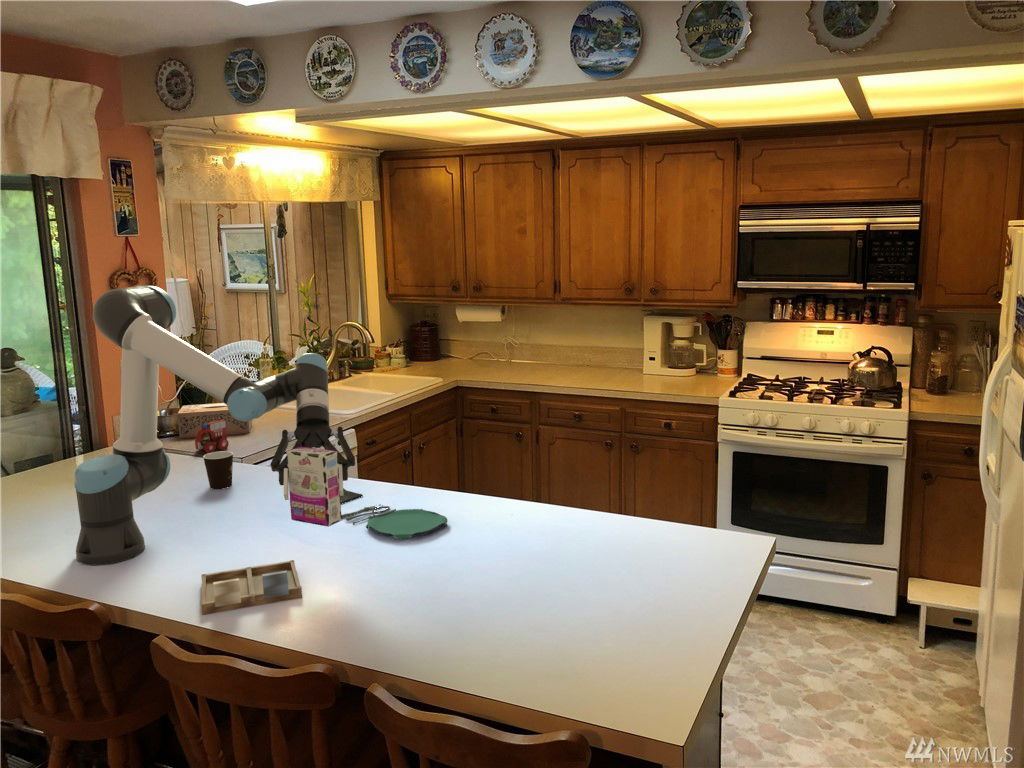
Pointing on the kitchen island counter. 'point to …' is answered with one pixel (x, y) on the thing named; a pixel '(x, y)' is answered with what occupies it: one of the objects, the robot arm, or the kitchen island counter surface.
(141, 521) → the kitchen island counter surface
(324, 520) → the candy bar box
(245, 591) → the divided tray
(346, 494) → the calculator
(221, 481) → the coffee mug
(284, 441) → the robot arm
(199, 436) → the toy fire truck
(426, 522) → the cutlery set
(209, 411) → the tissue box cover
